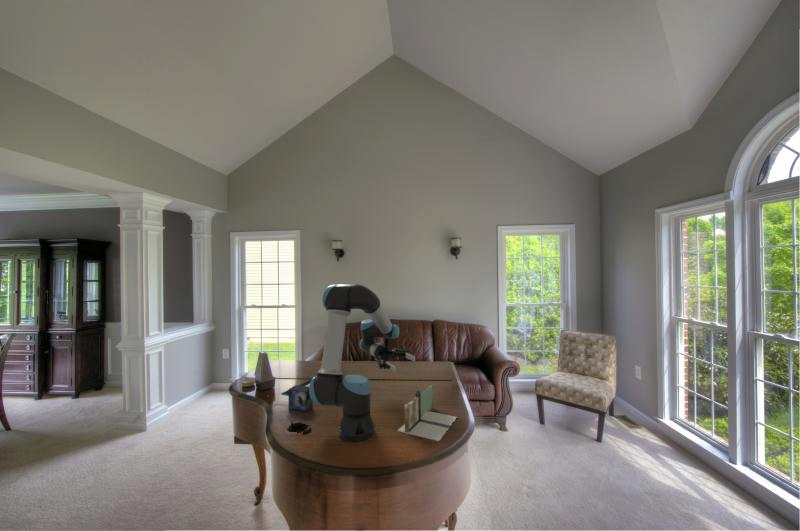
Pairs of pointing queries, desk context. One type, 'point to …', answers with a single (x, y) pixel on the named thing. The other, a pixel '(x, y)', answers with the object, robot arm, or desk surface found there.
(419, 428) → the card
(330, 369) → the robot arm
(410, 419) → the fixed fence
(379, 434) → the desk surface
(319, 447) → the desk surface
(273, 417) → the desk surface
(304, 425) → the black jagged lump
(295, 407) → the small box
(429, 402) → the hinged panel
